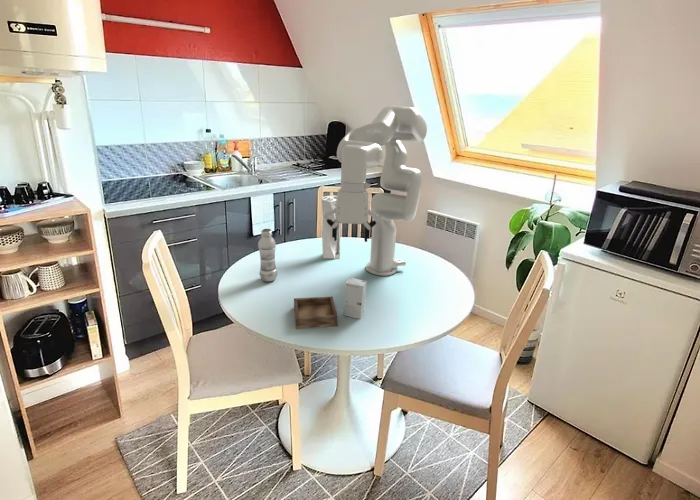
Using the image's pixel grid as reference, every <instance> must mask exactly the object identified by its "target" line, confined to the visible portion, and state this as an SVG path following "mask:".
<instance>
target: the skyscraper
mask: <svg viewBox="0 0 700 500" xmlns="http://www.w3.org/2000/svg"><path fill="white" fill-rule="evenodd" d="M320 199H321V213H322V220H323V223H322V235H321V236H322V237H321V238H322V239H321V240H322V241H321V242H322V245H321V246H322V259H323V260H340V259H341V235H340V226H338V225H337V226H336V227H337V240H336V241H334V237H332V227H331V226H330V225H329V224H328V223H327V221H326V219H325V217H324V213H326V212H328V211H330V210H332V209H334V208H336V199H337V195H325V196H322V197H321V198H320ZM329 217H330V219H331V220H332V221H333V222H334V221H335V219H336V218H335V214H333V215H330V216H329Z"/></svg>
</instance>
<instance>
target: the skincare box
mask: <svg viewBox="0 0 700 500" xmlns="http://www.w3.org/2000/svg"><path fill="white" fill-rule="evenodd" d="M344 284H345V287H344V305H343V316H346V317H350V318H354V319H359V320H360V319H361V318H362V317H363V315H364V313H365V303H366V291H367V290H366V289H367V280H363V279H360V278H354V277H349V278H348V279H347V280H346V282H345V283H344Z"/></svg>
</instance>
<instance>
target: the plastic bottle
mask: <svg viewBox="0 0 700 500" xmlns="http://www.w3.org/2000/svg"><path fill="white" fill-rule="evenodd" d="M260 232H261V234H260V236H261V237H260V239H259V241H258V243H257V247H258V251H259V258H260V268H259V277H260V280H261V281H262V282H267V283H269V282H273V281H275V280H276V279H277V276H278V270H277V267H276V245H277V243H276V241H275V239H274V237H272V236H273V233H272V229H271V228H263V229H261V231H260Z"/></svg>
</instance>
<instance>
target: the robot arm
mask: <svg viewBox="0 0 700 500" xmlns="http://www.w3.org/2000/svg"><path fill="white" fill-rule="evenodd" d="M427 131H428V126H427V121H426V120H425V118H424V116H423V115H422V114H421V112H420V111H419V110H418V109H417V108H415V107H411V106H398V105H390V106H389V105H388V106H386V107H384V108H382V109H381V110H380V111H379V113H378V114H377V115H376V116H375V118H374V119H373V120H372V121H371V123H368V124H365V125H362V126H360V127H356V128H354V129H352V130H349V132H347V133H346V134H345V135H344V137H342V139H341V140H340V141H339V143H338V146H337V150H336V158H337V160H338V162H340V163H341V168H340V169H341V172H340V189H338V190H337V194H336V196H337V197H336V198H335V199H336V208H334V209H332V210H330V211H328V212H326V213H324V217H325V219H326V221H327V223H328V224H329V225H330V226H331V227H332V237H334V241H336V240H337V236H338V226H339V225H340V224H348V225H350V224H351V225H364V227H365V228H364V242H365V243H366V242H367V243H368V240H369V239H370V235H371V240H370V243H371V244H370V258H369V262H367V263H366V265H365V270H366V271H367V272H368V273H370V274H372V275H376V276H380V277H382V276H384V277H385V276H387V277H388V276H392V275H393V274H395V273H397V272H398V267H399V266H401V267H403V266H406V260H402V259H400V258H397V259H396V258H395V253H396V239H397V237H396V236H397V227H396V224H395V222H394V221H400V222H409V223H410V222H412V221H414V220H415V217H416V214H417V210H418V206H419V201H420V197H421V191H422V186H423V174H422V172H421V170H420V169H419V168H415V167H408V166H407V161H408V157H409V156H408V152H407V150H406V148H405V146H404V144H403V143H402V142H410V143H421V142H423V141H424V140H425V138H426V136H427ZM382 146H384V149H385V154H384V152H383V151H384V150H383V147H382ZM384 155H385V157H384ZM383 157H384V158H383ZM383 159H384V161H383V165H382V170H381V174H380V181H379V182H380V183H379V184H380V187H381V188H382V189H384V190H387V191H391V192H398V193H404V194H406V195H403V194H397V193H389V192H378V193H376V194H374V195H373V196H372V197H371V201H370V209H369V193H368V190H367V189H371V183H368V182H367V168H368V169H371V168H372V169H373V168H376V167H377V166H379V165H380V164H381V162H382V160H383ZM333 214H335V218H336V219H335V221H334V222H333V221H332V220H331V219H330V217H329V216H330V215H333ZM369 216H370V217H371V221H370V222H369ZM336 226H337V227H336ZM370 233H371V234H370Z"/></svg>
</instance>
